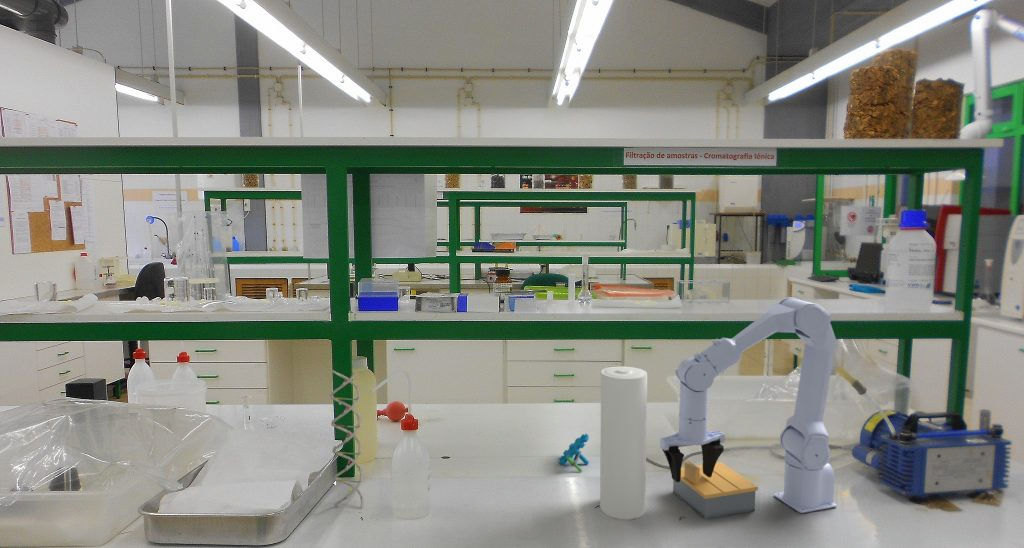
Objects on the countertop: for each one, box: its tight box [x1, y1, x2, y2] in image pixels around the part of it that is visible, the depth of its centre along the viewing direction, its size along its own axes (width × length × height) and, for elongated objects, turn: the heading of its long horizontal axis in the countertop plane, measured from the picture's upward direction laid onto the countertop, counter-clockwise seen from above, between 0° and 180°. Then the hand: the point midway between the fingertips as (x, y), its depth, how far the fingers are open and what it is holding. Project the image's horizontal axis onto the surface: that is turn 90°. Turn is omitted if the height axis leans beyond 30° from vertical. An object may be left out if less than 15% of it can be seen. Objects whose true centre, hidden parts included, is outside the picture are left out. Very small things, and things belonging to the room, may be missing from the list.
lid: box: [680, 460, 759, 499], centre depth 123 cm, size 13×13×5 cm
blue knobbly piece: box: [558, 432, 590, 473], centre depth 142 cm, size 11×6×10 cm
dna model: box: [329, 369, 364, 509], centre depth 121 cm, size 7×6×30 cm
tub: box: [672, 479, 756, 520], centre depth 123 cm, size 12×12×4 cm
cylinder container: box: [599, 365, 648, 520], centre depth 120 cm, size 9×9×30 cm
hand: (691, 477), depth 122 cm, fingers open, 7 cm apart
